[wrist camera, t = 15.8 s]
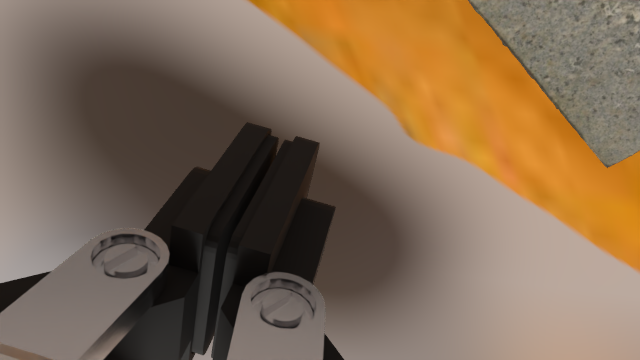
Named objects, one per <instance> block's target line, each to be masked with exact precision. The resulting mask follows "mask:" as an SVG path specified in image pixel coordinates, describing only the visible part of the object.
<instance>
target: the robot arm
mask: <svg viewBox="0 0 640 360" xmlns="http://www.w3.org/2000/svg"><path fill="white" fill-rule="evenodd" d="M277 147H278V137H274V136H271V129H269V128H265V127H262V126H259V125H255V124H252V123H248V122H247V123H246V124H245V125H244V127H243V128H242V129H241V131H240V132H239V133H238V135H237V136H236V138H235V139H234V140H233V142H232V143H231V145H230V146H229V147H228V148H227V150H226V151H225V153H224V154H223V155H222V157H221V158H220V160H219V161H218V162H217V164H216V165H215V166H214V168H213V169H212V170H211V171H210V170H207V169H203V168H200V167H195V168H194V169H193V170H192V171H191V172H190V173H189V174H188V175H187V177H186V178H185V179H184V181H183V182H182V183H181V184H180V186H179V187H178V188H177V189H176V191H175V192H174V193H173V194H172V196H171V197H170V198H169V199H168V201H167V202H166V203H165V204H164V206H163V207H162V208H161V209H160V211H159V212H158V213H157V214H156V216H155V217H154V218H153V220H152V221H151V222H150V223H149V225H148V226H147V227H146V229H145V230H141V229H133V228H122V229H113V230H110V231H107V232H104V233H101V234H100V235H98V236H96V237H95V238H93V239H91V240H90V241H89V242H88V243H86V244H85V245H84V246H83V247H81V248H80V249H79V250H78V251H76V252H75V253H74V254H73V255H71V256H70V257H69V258H68V259H66V260H65V261H64V262H63V263H62V264H60V265H59V266H58V267H57V268H55V269H54V270H53V271H51V272H46V273H42V274H38V275H33V276H29V277H26V278H21V279H17V280H13V281H9V282H4V283H0V360H192V359H193V357H194V355H195V353H198V354H201V355H204V354H205V353H206V351H207V349H208V347H209V345H210V343H211V340H212V339H213V336H214V341H213V347H212V354H211V357H212V358H213V360H344V359H343V358H342V356H341V355H340V353H339V352H338V351H337V349H336V348H335V347H334V345H333V344H332V343H331V341H330V340H329V339H328V337H327V336H326V335H325V333H324V330H325V303H324V299H323V297H322V295H321V294H320V292H319V290H318V289H317V288H315V286H313V285H314V282H315V278H316V275H317V272H318V268H319V265H320V262H321V258H322V255H323V251H324V248H325V244H326V241H327V237H328V233H329V230H330V226H331V223H332V219H333V216H334V212H335V208H336V207H335V206H331V205H328V204H324V203H321V202H317V201H314V200H310V199H307V196H308V191H309V187H310V183H311V179H312V175H313V171H314V167H315V162H316V158H317V154H318V150H319V143H318V142H315V141H312V140H308V139H305V138H301V137H298V136H296V137H295V139H294V140H293V142H292V141H288V140H285V141H284V142H283V144H282V146H281V148H280V149H279V151H278V153H277V155H276V152H277Z"/></svg>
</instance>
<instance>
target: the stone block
mask: <svg viewBox="0 0 640 360" xmlns="http://www.w3.org/2000/svg"><path fill="white" fill-rule="evenodd" d="M468 1H469V2H470V4H471V5H472V7H473V8H474V10H475V11H476V12H477V13H478V14H480V15H481V16H482V17H483V19H484V20H485V21H486V23H487V24H488V25H489V26H490V27H491V28H492V29H493V31H494V32H495V33H496V35H497V36H498V37H499V38H500V40H501V41H502V43H503V45H504V46H507V47H508V48H509V50H510V51H511V53H512V54H513V55H514V56H515V57H516V59H517V60H518V61H519V62H520V63H521V64H522V66H523V67H524V68H525V70H526V71H527V73H528V74H529V75H530V77H531V78H532V79H534V80H535V81H536V82H537V83H538V85H539V86H540V88H541V89H542V91H543V92H544V93H545V94H546V95H547V97H548V98H549V99H550V100H551V101H552V103H553V104H554V105H555V106H556V108H557V109H559V111H560V112H561V113H562V115H563V116H564V117H565V118H566V120H567V121H568V122H569V123H570V124H571V126H572V127H573V128H574V129H575V130H576V131H577V132H578V134H579V135H580V136H581V138H582V139H583V140H584V141H585V142H586V143H587V145H588V146H589V147H590V149H591V150H592V151H593V152H594V153H595V154H596V156H597V157H598V158H599V159H600V161H601V162H602V163H603V164H604V165H605V166H606V167H607V168H608V167H610V166H612V165H614V164H616V163H618V162H620V161H622V160H624V159H626V158H628V157H630V156H632V155H633V154H635V153H636V152H638V151H639V150H640V0H468Z"/></svg>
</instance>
